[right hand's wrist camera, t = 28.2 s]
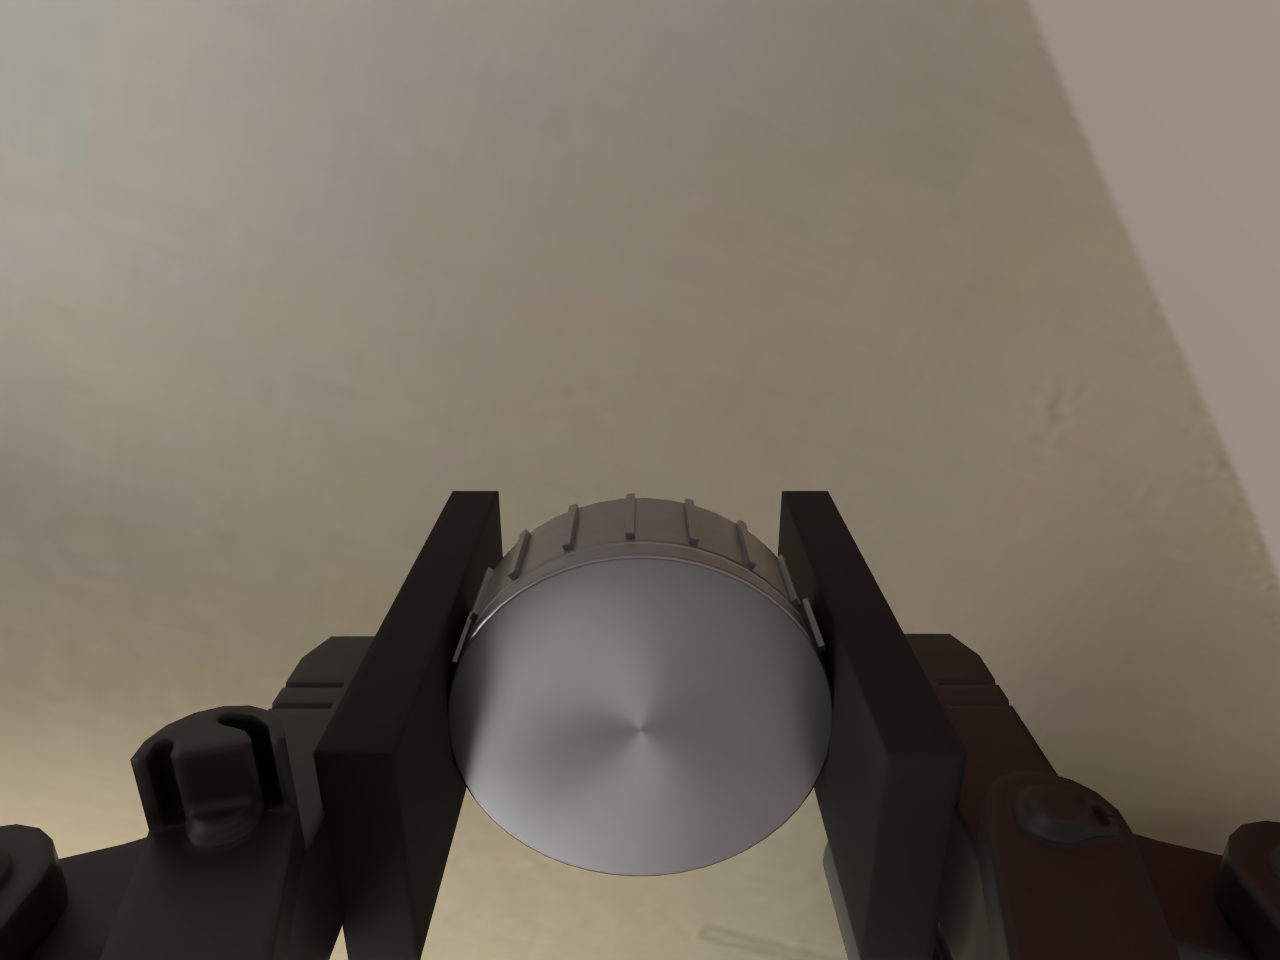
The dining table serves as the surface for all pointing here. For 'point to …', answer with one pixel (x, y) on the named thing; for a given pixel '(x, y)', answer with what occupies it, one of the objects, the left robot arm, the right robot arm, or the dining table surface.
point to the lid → (640, 689)
